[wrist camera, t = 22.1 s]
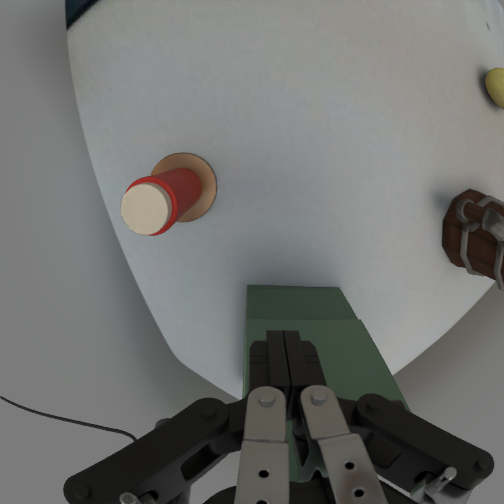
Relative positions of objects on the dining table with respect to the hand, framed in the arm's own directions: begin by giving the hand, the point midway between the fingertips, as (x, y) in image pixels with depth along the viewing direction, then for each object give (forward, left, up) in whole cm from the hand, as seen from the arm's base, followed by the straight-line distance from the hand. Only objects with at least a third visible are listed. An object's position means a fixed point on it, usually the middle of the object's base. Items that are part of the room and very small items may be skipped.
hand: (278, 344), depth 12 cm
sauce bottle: (-6, +8, -21) cm, 23 cm away
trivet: (-6, +8, -21) cm, 24 cm away
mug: (+27, -12, -22) cm, 37 cm away
